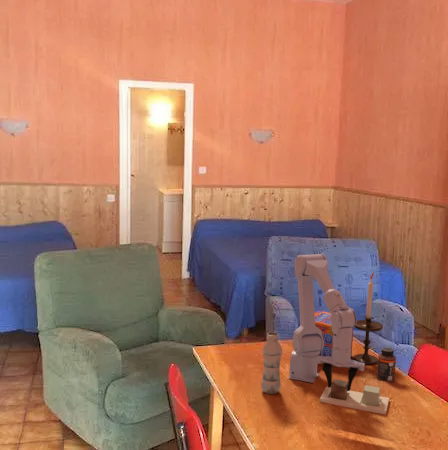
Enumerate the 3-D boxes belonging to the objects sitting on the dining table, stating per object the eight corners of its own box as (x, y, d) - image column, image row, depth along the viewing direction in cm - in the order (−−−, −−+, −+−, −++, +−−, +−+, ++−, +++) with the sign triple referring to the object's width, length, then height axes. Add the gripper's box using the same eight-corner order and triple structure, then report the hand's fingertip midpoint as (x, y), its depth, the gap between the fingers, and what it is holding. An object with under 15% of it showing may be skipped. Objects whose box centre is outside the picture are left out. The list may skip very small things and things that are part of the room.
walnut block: (330, 399, 176) (331, 384, 175) (333, 393, 180) (333, 378, 179) (344, 401, 174) (345, 386, 174) (347, 396, 178) (347, 381, 178)
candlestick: (379, 356, 218) (385, 269, 213) (381, 367, 207) (387, 275, 203) (351, 354, 220) (356, 267, 215) (351, 364, 209) (357, 273, 205)
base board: (319, 406, 174) (320, 398, 174) (326, 393, 183) (326, 386, 183) (385, 419, 167) (385, 411, 167) (388, 405, 176) (389, 397, 176)
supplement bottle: (395, 384, 192) (397, 353, 191) (377, 382, 193) (379, 351, 192) (393, 377, 198) (395, 347, 196) (376, 375, 199) (378, 345, 198)
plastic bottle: (283, 390, 185) (285, 332, 182) (276, 398, 179) (278, 338, 176) (265, 386, 188) (267, 329, 185) (257, 394, 182) (260, 335, 179)
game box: (315, 346, 227) (317, 310, 225) (352, 355, 218) (354, 317, 216) (298, 358, 214) (300, 319, 212) (336, 367, 206) (338, 327, 204)
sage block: (362, 405, 172) (363, 390, 171) (364, 399, 176) (365, 384, 175) (377, 408, 170) (378, 393, 170) (379, 402, 174) (380, 387, 174)
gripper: (316, 347, 173) (314, 388, 175) (363, 354, 168) (360, 397, 170) (321, 340, 180) (318, 380, 182) (366, 347, 175) (363, 388, 176)
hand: (339, 388), depth 176 cm, fingers open, 5 cm apart
